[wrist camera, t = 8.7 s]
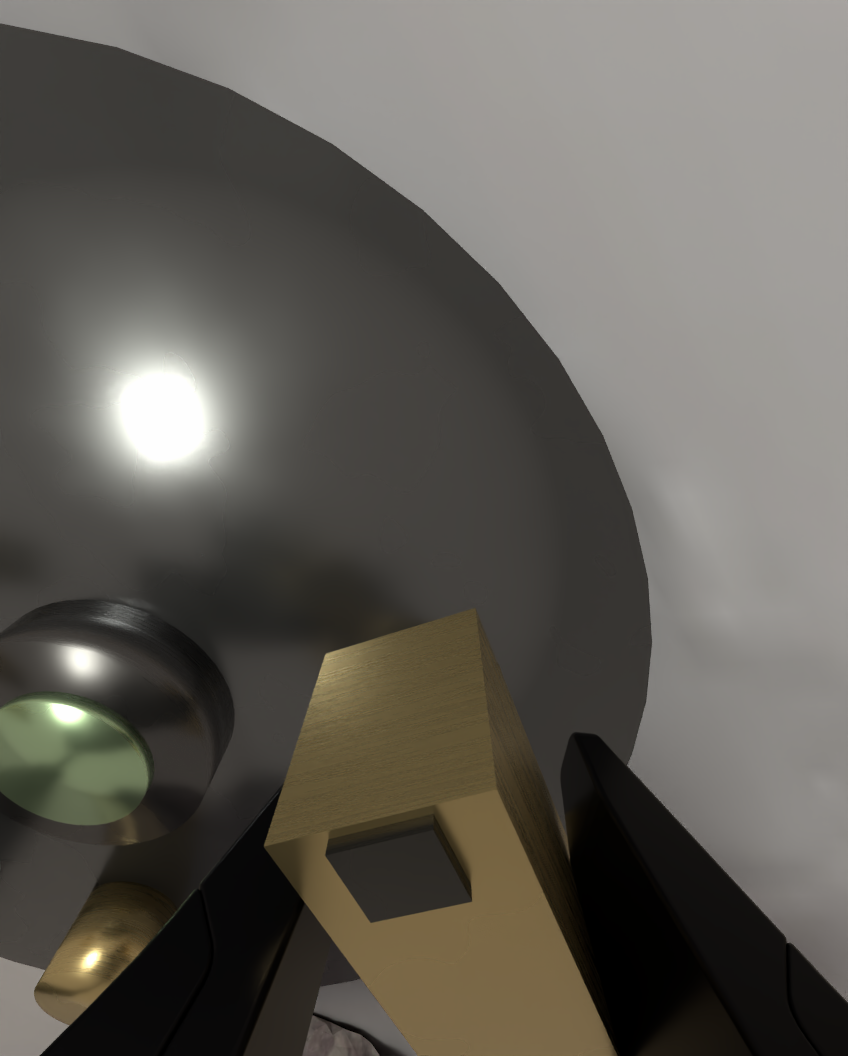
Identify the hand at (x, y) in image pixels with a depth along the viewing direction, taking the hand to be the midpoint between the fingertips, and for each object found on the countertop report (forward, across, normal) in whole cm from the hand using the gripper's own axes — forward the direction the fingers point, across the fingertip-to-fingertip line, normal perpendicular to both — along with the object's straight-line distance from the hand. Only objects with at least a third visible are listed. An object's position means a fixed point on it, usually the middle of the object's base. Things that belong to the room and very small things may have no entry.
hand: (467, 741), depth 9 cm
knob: (+2, 0, 0) cm, 2 cm away
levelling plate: (+3, +7, +2) cm, 8 cm away
